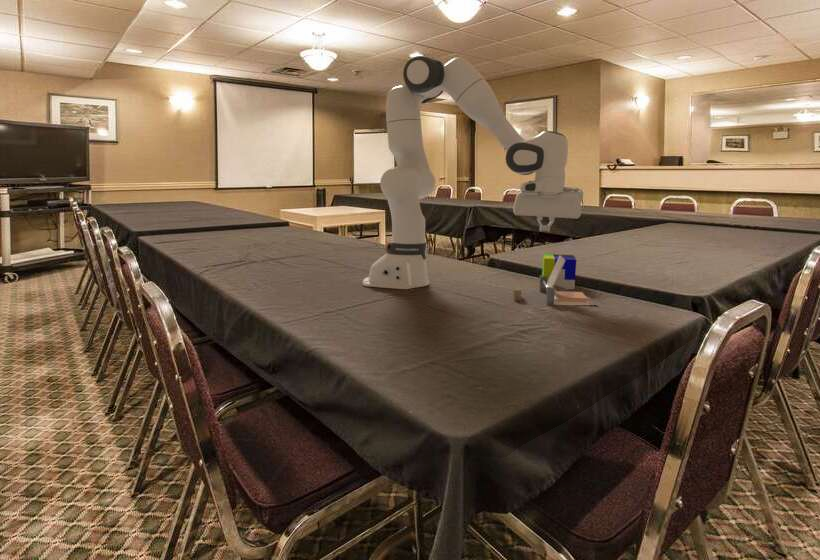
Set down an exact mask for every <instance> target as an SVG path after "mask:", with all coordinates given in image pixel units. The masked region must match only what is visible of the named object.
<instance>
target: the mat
mask: <svg viewBox="0 0 820 560" xmlns="http://www.w3.org/2000/svg"><path fill="white" fill-rule="evenodd" d="M554 305H555V306H574V305H589V304H588V301H587V304H583V303H559V302H558V301H557V299H556V298H555V294H554Z"/></svg>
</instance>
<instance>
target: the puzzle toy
mask: <svg viewBox="0 0 820 560" xmlns="http://www.w3.org/2000/svg"><path fill="white" fill-rule="evenodd" d="M559 255H560V256H562V257H563V258H564V259H565V260H566V261H565V263H564V265H563V267H562V270H561V272H560V274H559V276H558V278H557V281H556V283H555V285H558V286H560V287H563V288H565V289H566V290H567V289H574V290H575V283H576V270H577V259H576V257H575V255H573V254H555V253H554V254H553V253H552V254H551V253H543V254H542V267H541V276H547V282H548V280H549V277H550V275H551V273H552V271H553V268H554V266H555V264H556V262H557V260H558V257H559Z"/></svg>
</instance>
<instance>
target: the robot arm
mask: <svg viewBox="0 0 820 560" xmlns="http://www.w3.org/2000/svg"><path fill="white" fill-rule="evenodd" d="M402 72H403V73H402V77H403V81H404V83H403V84H402V85H397V86H395V87H393V88H391V89H390V90H389V91H388V92H387V95H386V104H385V117H386V118H385V119H386V120H385V121H386V131H387V141H388V142H387V144H388V150H390V153H391V154H392V156H393V158H394V160H395V163H396V166H393V167H391V168H389V169H387V170H385V171H384V173H383V174H381V175H382V176H381V177H380V183H379V184H380V190H381V192H382V194H383V196H385V197H386V200H387V204H388V207H389V210H390V216H391V217H390V218H391V241H388V242H387V243H386V246H385V251H386V253H385V254H383V255H382V256H381V257H379V258H378V259H377V260H376V261H375V262H373V264H372V265H371V266H370V269H369V274H368V276H367V277H365V278H364V279H363V280H362V286H364V287H371V288H372V287H373V288H384V289H396V290H411V289H415V288H420V287H422V288H423V287H426V286H428V285H430V281H429V277H428V271H427V270H428V269H427V261H426V259H427V252H428V251H427V250H428V248H427V247H428V246H427V242H426V218H425V215H423V212H422V208H421V204H420V200H422V199H424V198H427V197H428V196H430V195H431V194H432V193H433V192H434V190H435V188H436V177H435V176H434V173H433V172H432V170H431V168H430V165H429V161H428V159H427V155H426V151H425V148H424V142H423V141H424V140H423V130H422V121H421V120H422V119H421V104H426V103H428V102H431V100H434V99H437V98H438V97H440V96H441V95H442V94H443V93H444V92H445V93H447V94H448V96H450V97H451V98H452V100H453V101H454V102H455V104H456V105H457V107H458V108H459V109H460V110H461V111H462V112H463V113H464V114H465V115H466V116H467V117H469V118H470V119H471V120H472V121H474V122H475V123H478V124H479V125H481V126H483V127H484V128H486V130H488V131H489V132H490V133H491V134H492V135H493V136H494V138H496V140H497V141H498V143H499V144H500V145H501V147H502V148H503V149H504V150H505V152H506V154H505V164H506V165H507V167H508V169H510V171H512V172H513V173H516V174H517V175H518V174H519V175H521V176H528V175H529V176H530V175H532V174H533V173H534V174H535V177H534V180H529V181H526V182H522V183H520V184H519V190H520V191H518V192H517V194H516V196H515V198H514V199H515V200H514V203H513V208H512V211H513V214H514V215H515V216H529V217H536V221H537V223H538V225H539V232H547V233H550V231H551V226H552V225H553V224H554V222H555V218H561V219H562V218H563V219H579V218H580V217H581V213H582V201H583V200H584V192H583V190H582V189H580V188H579V187H566V186H565V182H566V172H565V170H566V169H565V168H566V166H567V162H568V155H569V154H568V153H569V150H568V149H569V145H568V144H569V143H568V139H567V137H566V136H565V135H564V134H562V133H560V132H557V131H551V130H543V131H541V132H540V133H539V134H537V135H535V136H534V137H533V136H532V137H531V138H528V139H526V140H525V139H524V138H523V137H522V136H521V135H520V133H518V131H517V130H516V129H515V128H514V126H513V125H512V124H511V122H510V121H509V119H507V117H506V115H505V114H504V111H503V110H502V108H501V105H500V103H499V101H498V99H497V96H496V94H495V92H494V91H493V89H492V87H491V85H490V84H489V83H488V81H487V80H486V79H485V77H484V76H483V75H482V73H480V72H479V71H478V69H477V68H475V66H473V65H472V64H471V63H470V62H469V61H468V60H466V59H465V58H463V57H454V58H452V59H451V60H449V61H448V62H447V63H445V64H443V63H442V62H441V60H438V59H435V58H433V57H429V56H425V55H415V56H413V57H411V58H410V59H408V60H407V62H406V63H405V64H404V68H403V71H402ZM545 217H546V218H548V220H549V222H548V224H547V225H544V224H543V223H542V221H543V218H545Z"/></svg>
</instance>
